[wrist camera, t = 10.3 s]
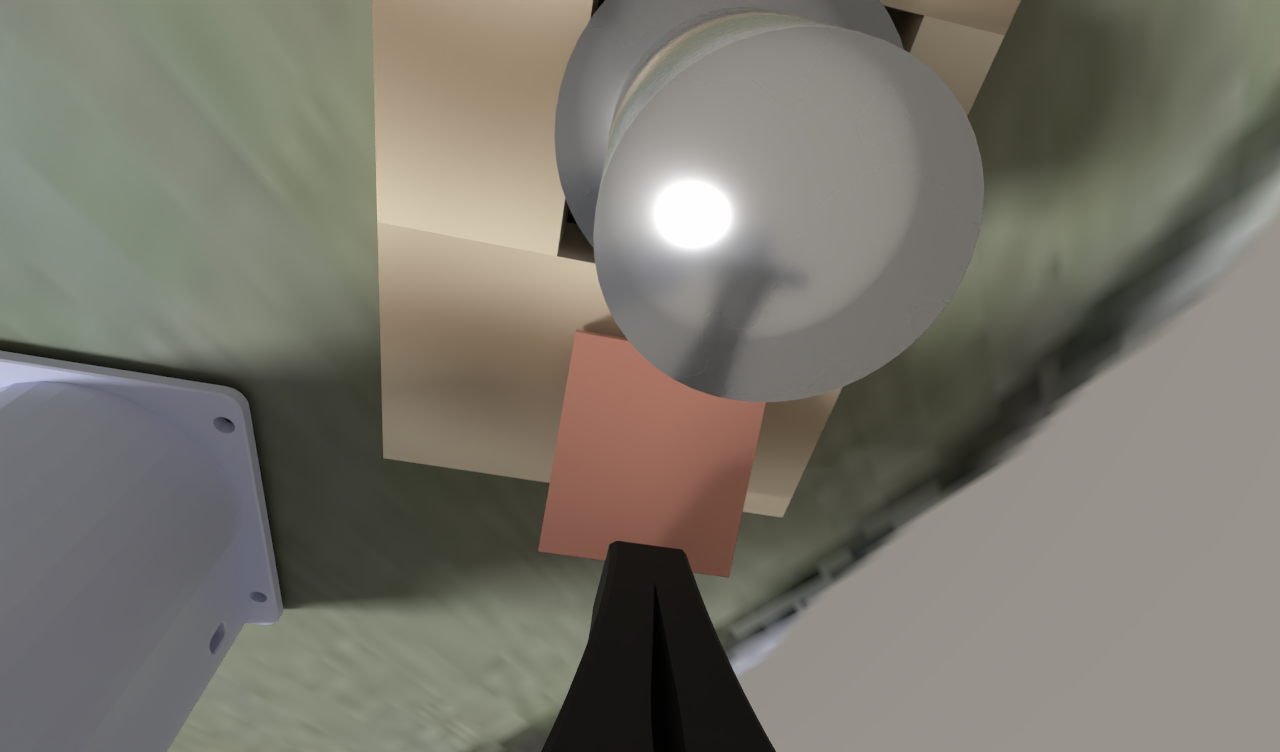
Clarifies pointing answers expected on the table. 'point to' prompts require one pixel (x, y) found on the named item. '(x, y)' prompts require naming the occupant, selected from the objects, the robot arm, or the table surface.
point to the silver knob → (766, 188)
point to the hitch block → (534, 230)
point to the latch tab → (646, 460)
